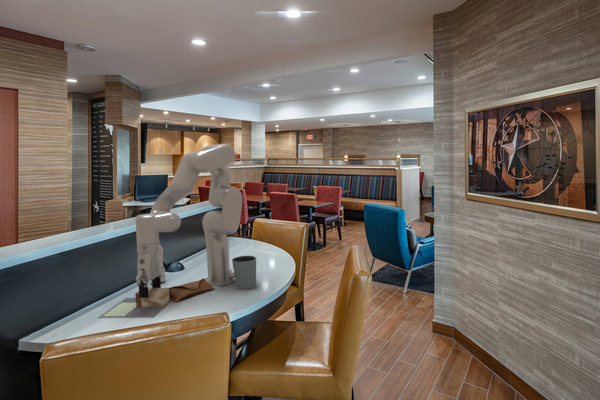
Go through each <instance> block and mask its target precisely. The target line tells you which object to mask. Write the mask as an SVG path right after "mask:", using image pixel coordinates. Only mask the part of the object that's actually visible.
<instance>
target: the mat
mask: <svg viewBox="0 0 600 400" xmlns="http://www.w3.org/2000/svg"><path fill="white" fill-rule="evenodd" d="M171 302H173V301H172V300H170V301H169V302H167V303H166V304H165V305H164V306H163V307H136V297H126V298H123V300H120V301H119V302H118V303H117V304H115V305H114V306H113V307H111V308H110V309H108V310H107V311H106V312H104V313H102V314H101V315H100V316H98V317H97V318H98V319H129V318H130V319H138V318H139V319H144V318H147V319H148V318H155V317H156V316H157V315H158V314H160V312H161V311H163V310H164V309H165V308H166V307H167V306H168V305H169V304H171Z"/></svg>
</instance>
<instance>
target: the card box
mask: <svg viewBox="0 0 600 400" xmlns="http://www.w3.org/2000/svg"><path fill="white" fill-rule="evenodd" d="M169 288H170V287H161V288H152V287H148V294H149V297H148V298H140V297H139V291H137V292H136V293H134V296H135V298H136V307H163V306H164V305H165V304H166V303H167V302H169V301H170V296H169Z"/></svg>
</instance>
